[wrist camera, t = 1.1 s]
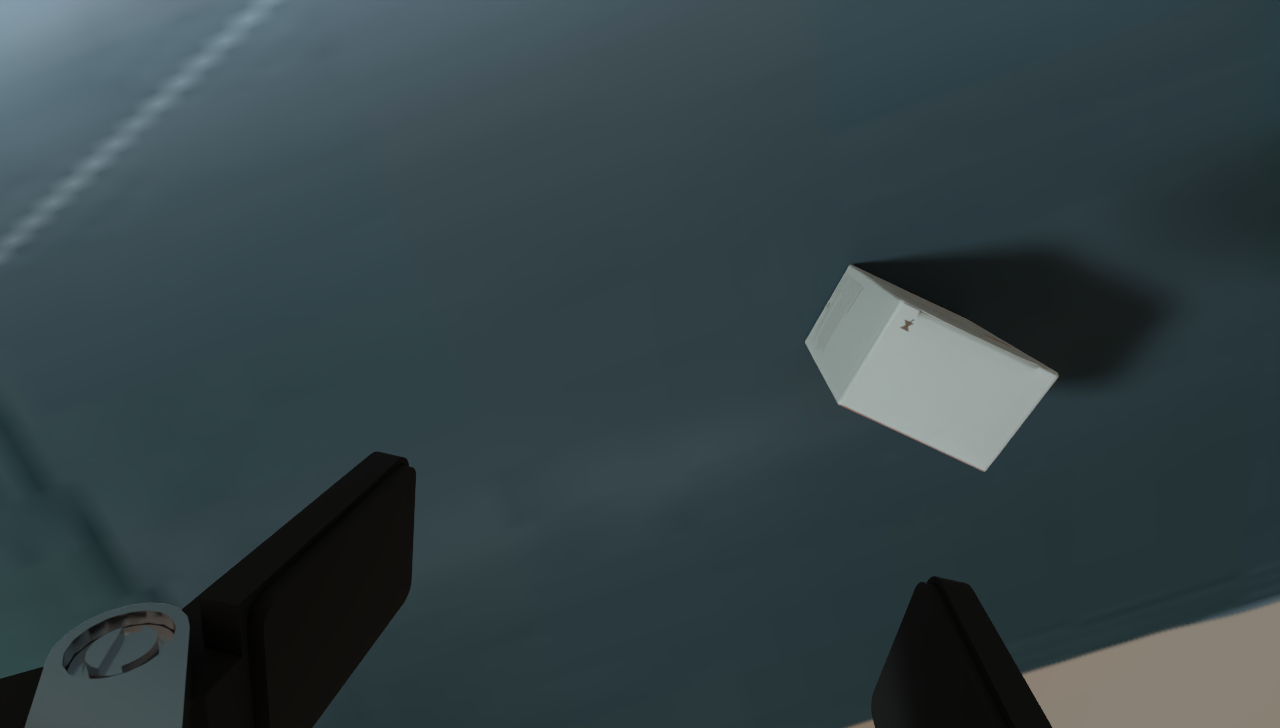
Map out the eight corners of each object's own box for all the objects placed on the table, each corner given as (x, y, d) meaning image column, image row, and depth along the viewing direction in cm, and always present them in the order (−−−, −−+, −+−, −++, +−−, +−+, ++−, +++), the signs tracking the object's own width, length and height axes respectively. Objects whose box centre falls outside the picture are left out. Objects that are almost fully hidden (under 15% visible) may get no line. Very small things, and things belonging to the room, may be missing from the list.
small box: (802, 341, 37) (831, 404, 27) (849, 260, 36) (899, 296, 26) (916, 395, 38) (986, 477, 28) (969, 318, 36) (1064, 376, 26)
